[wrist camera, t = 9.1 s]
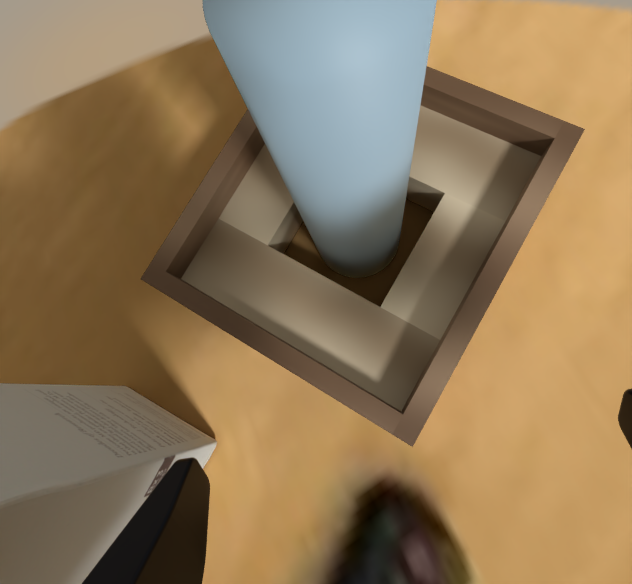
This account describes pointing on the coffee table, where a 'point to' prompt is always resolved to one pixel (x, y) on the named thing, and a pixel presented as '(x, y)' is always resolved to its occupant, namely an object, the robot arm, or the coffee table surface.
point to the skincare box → (79, 473)
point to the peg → (334, 110)
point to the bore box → (413, 280)
